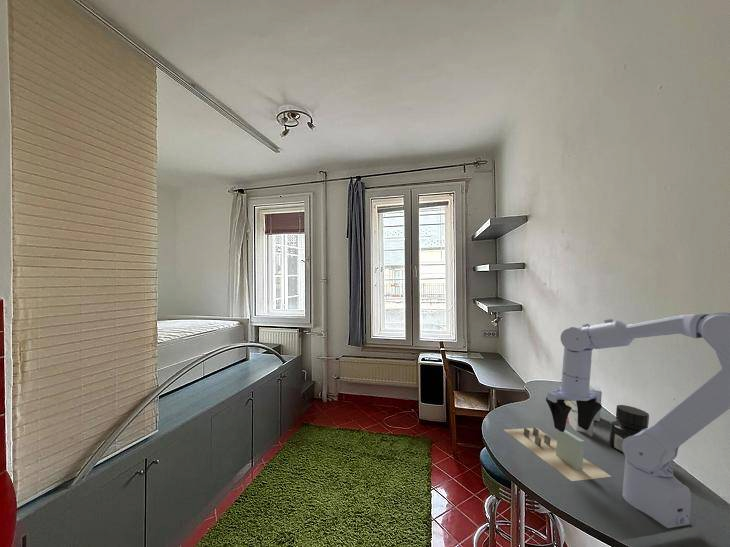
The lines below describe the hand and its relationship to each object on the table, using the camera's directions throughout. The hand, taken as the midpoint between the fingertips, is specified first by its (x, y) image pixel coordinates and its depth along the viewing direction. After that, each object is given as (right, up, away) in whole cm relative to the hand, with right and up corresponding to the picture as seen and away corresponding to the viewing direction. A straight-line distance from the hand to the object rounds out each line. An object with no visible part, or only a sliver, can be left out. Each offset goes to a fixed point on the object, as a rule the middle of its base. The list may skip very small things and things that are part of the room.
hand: (571, 429), depth 74 cm
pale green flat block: (-1, -8, 0) cm, 8 cm away
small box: (+27, -12, +32) cm, 44 cm away
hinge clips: (-3, -8, +10) cm, 13 cm away
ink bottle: (+23, -12, +9) cm, 27 cm away
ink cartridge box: (+17, -11, +21) cm, 29 cm away
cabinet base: (-2, -9, +5) cm, 11 cm away
